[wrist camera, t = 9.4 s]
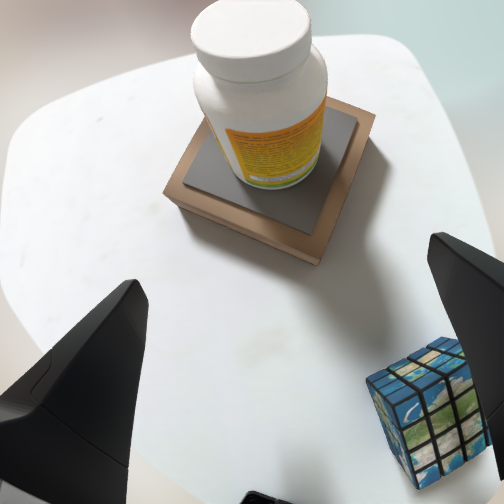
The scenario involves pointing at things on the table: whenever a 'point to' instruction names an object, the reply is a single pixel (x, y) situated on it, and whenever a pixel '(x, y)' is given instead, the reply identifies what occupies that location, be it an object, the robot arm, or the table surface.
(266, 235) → the base block
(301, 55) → the supplement bottle
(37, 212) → the table surface
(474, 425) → the puzzle
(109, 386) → the robot arm
